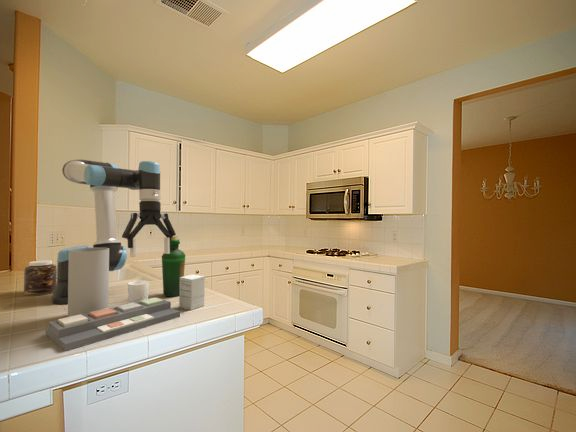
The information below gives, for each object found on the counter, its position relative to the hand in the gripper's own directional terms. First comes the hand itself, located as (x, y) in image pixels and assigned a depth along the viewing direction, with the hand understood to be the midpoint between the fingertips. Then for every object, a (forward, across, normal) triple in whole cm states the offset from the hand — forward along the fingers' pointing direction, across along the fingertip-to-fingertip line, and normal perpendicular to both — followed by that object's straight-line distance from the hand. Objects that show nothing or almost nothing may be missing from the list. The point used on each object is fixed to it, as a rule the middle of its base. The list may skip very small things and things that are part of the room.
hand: (150, 255), depth 112 cm
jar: (+18, -18, +69) cm, 73 cm away
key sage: (+19, 0, 0) cm, 19 cm away
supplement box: (+23, +15, -4) cm, 28 cm away
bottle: (+22, +20, +18) cm, 34 cm away
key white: (+19, -26, 0) cm, 32 cm away
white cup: (+22, +1, +13) cm, 25 cm away
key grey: (+19, -9, 0) cm, 21 cm away
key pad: (+23, -13, -2) cm, 26 cm away
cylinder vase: (+22, -16, +16) cm, 31 cm away
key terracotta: (+19, -17, 0) cm, 26 cm away
